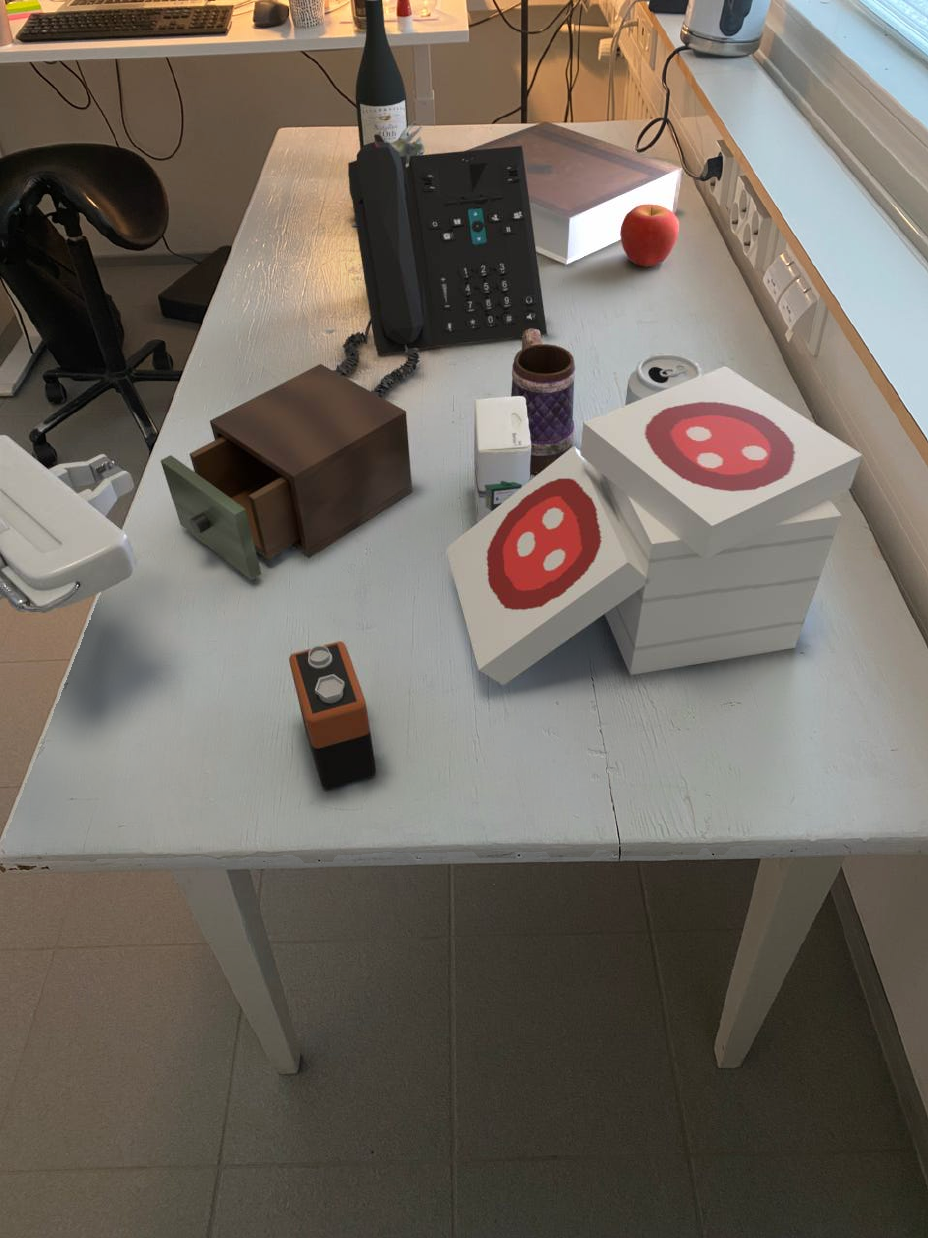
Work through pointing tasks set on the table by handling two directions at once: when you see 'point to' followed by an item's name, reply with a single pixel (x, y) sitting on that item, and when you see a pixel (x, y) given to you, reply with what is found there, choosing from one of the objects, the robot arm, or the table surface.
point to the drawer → (233, 504)
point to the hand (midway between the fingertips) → (120, 470)
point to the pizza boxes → (661, 534)
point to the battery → (333, 714)
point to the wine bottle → (379, 84)
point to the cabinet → (326, 450)
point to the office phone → (443, 251)
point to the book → (585, 187)
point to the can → (660, 375)
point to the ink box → (500, 451)
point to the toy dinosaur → (403, 146)
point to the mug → (545, 397)
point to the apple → (649, 234)
